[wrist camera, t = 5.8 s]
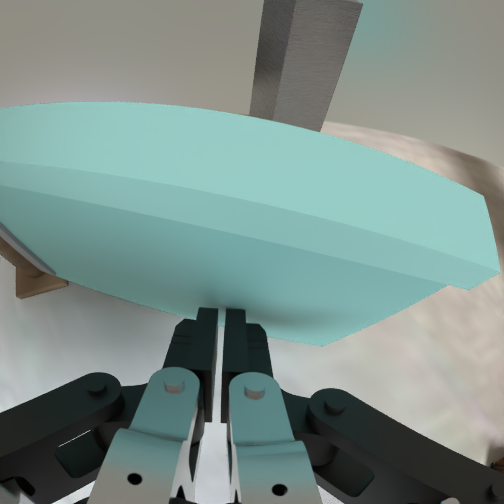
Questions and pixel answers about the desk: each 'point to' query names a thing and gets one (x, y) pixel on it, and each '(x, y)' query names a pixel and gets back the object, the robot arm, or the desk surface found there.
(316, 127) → the latch post
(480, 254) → the gate
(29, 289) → the hinge post
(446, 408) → the desk surface
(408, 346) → the desk surface
